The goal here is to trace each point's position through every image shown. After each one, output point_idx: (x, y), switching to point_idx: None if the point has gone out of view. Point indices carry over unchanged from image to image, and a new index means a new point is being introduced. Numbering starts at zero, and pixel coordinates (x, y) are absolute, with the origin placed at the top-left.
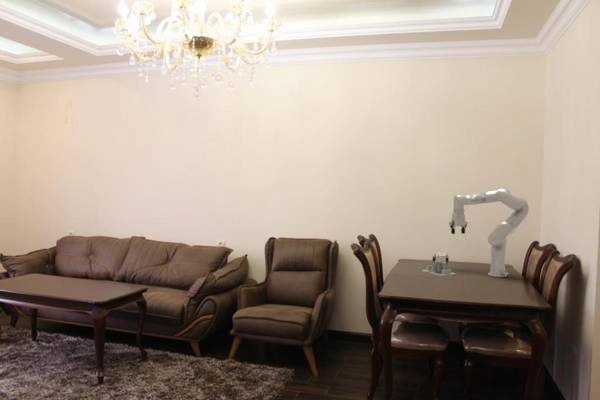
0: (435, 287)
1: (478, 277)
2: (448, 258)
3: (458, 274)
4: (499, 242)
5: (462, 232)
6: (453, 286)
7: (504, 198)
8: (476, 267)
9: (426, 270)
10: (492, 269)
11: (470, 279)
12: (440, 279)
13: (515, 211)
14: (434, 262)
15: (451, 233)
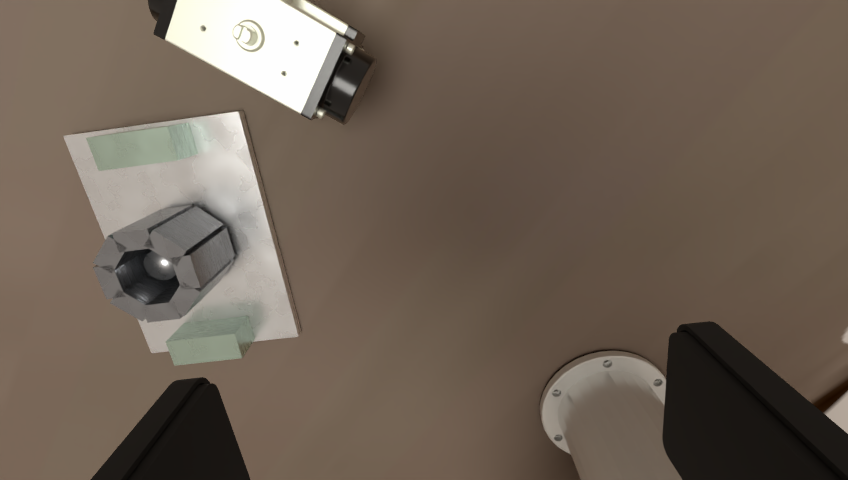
0: None
1: (415, 431)
2: (343, 122)
3: (334, 322)
4: None
5: (684, 402)
6: None
7: None
8: (750, 40)
9: (94, 176)
10: (569, 441)
11: (320, 469)
12: (117, 439)
13: None
14: (100, 256)
15: (179, 383)
